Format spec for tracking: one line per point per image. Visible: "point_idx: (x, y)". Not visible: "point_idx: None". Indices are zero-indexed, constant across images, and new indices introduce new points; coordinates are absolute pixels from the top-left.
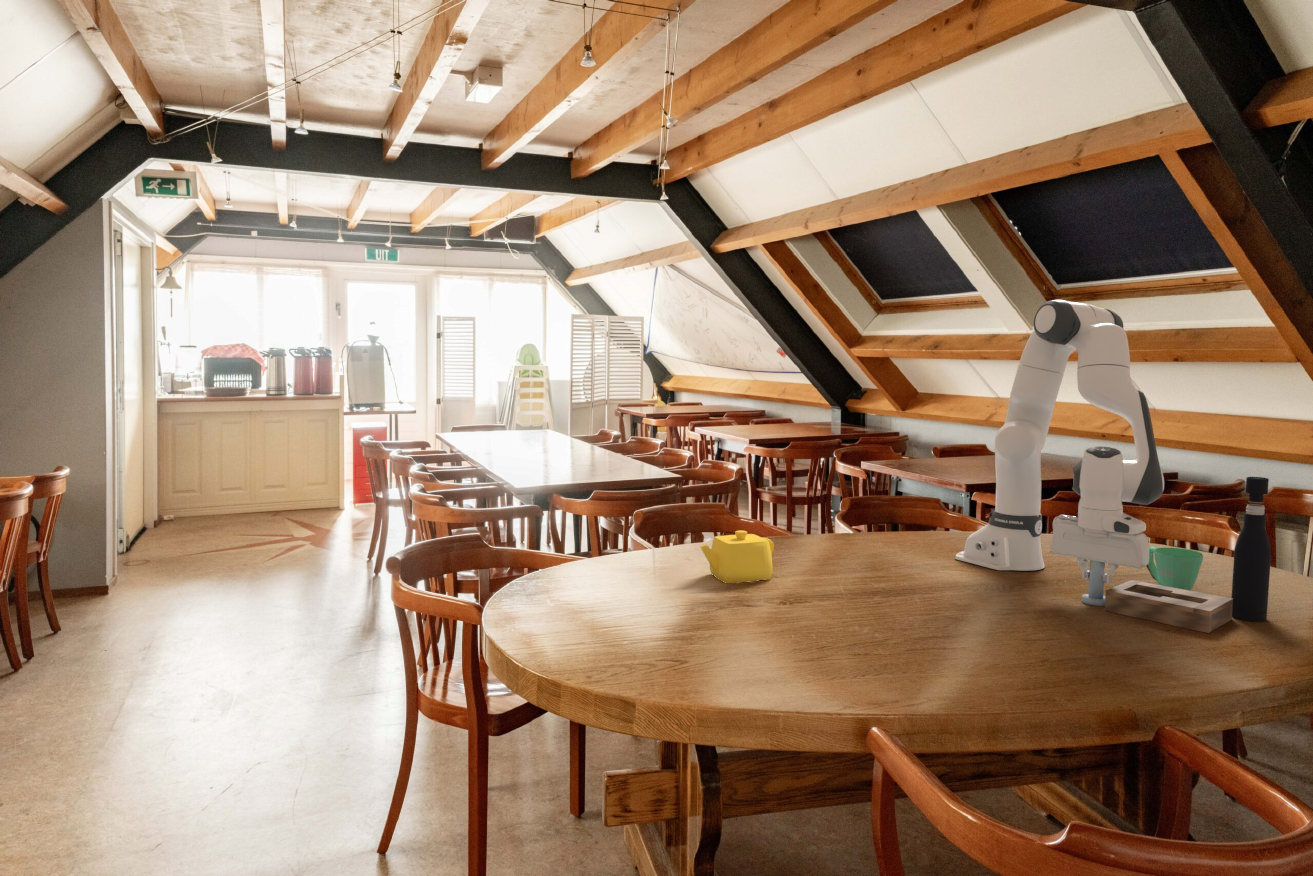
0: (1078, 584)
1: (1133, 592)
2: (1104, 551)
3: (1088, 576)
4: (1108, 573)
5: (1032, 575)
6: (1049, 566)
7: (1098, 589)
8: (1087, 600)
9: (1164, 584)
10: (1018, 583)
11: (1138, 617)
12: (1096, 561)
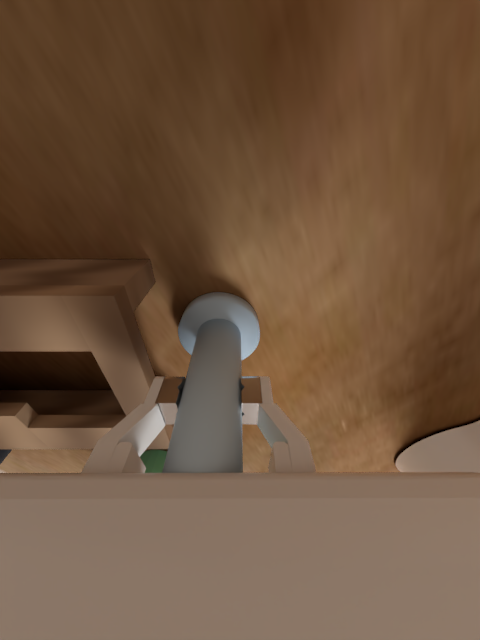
0: (313, 421)
1: (43, 347)
2: (80, 605)
3: (242, 385)
4: (141, 412)
5: (417, 420)
6: (386, 469)
7: (199, 346)
8: (227, 299)
9: (161, 470)
10: (460, 352)
11: (32, 259)
12: (185, 470)
